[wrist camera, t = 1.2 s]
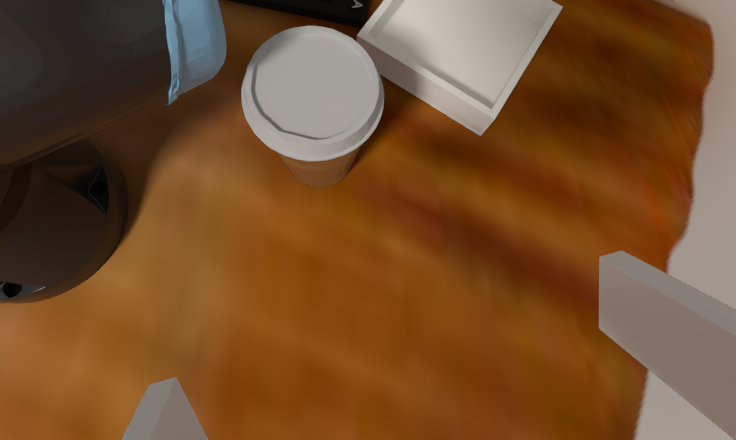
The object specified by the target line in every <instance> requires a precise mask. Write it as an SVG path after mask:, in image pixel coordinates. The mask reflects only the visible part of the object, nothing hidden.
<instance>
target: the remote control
mask: <svg viewBox="0 0 736 440" xmlns="http://www.w3.org/2000/svg"><path fill="white" fill-rule="evenodd" d="M228 1H233V2H238V3H243V4H248V5H253V6H258V7H262V8H267V9H272V10H277V11H282V12H287V13H292V14H297V15H302V16H307V17H312V18H317V19H322V20H326V21H331V22H336V23H341V24H346V25H351V26H356V27H361V28H363V27H364V25H365V20H366V15H367V10H368V5H369V0H228Z"/></svg>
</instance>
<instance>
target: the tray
mask: <svg viewBox="0 0 736 440" xmlns="http://www.w3.org/2000/svg"><path fill="white" fill-rule="evenodd" d="M562 8H563V7H562V6H560V5H559V4H557V3H555V2H554V1H552V0H384V1H383V2H382V3H381V5H380V6H379V7H378V8H377V10H376V11H375V12H374V14H373V15H372V16H371V18H370V19H369V20H368V21H367V23H366V24H365V25H364V27H363V28H362V29H361V31H360V32H359V33H358V34H357V41H356V42H357V43H358V44H360V45H361V46H362V47H363V48H364V50H365V51H366V52H367V53H368V54H369V56H370V58H371V59H372V61H373V63H374V65H375V67H376V69H377V71H378V72H379V74H380V75H382V76H384V77H385V78H387V79H388V80H390V81H392V82H393V83H395V84H397V85H398V86H400V87H401V88H403V89H405V90H406V91H408V92H410V93H411V94H413V95H414V96H416V97H418V98H419V99H421V100H423V101H424V102H426V103H427V104H429V105H431V106H432V107H434V108H436V109H437V110H439V111H440V112H442V113H444V114H445V115H447V116H449V117H450V118H452V119H453V120H455V121H457V122H458V123H460V124H462V125H463V126H465V127H466V128H468V129H470V130H471V131H473V132H475V133H476V134H478V135H479V136H481V135H482V134H483V133H484V132H485V130H486V129H487V128H488V127H489V126H490V124H491V123H492V122H493V121H494V120H495V118H496V117H497V115H498V113H499V112H500V110H501V108H502V107H503V105H504V103H505V102H506V100H507V98H508V97H509V95H510V94H511V92H512V90H513V89H514V87H515V85H516V84H517V82H518V80H519V79H520V77H521V75H522V74H523V72H524V71H525V69H526V67H527V66H528V64H529V62H530V61H531V59H532V57H533V56H534V54H535V52H536V51H537V49H538V47H539V46H540V44H541V43H542V41H543V39H544V38H545V36H546V34H547V33H548V31H549V29H550V28H551V26H552V24H553V23H554V21H555V19H556V18H557V16H558V15H559V13H560V11H561V10H562Z"/></svg>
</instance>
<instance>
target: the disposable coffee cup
mask: <svg viewBox="0 0 736 440" xmlns="http://www.w3.org/2000/svg"><path fill="white" fill-rule="evenodd" d="M241 97H242V107H243V111H244V114H245V118H246V120H247V121H248V123H249V125H250V127H251V128H252V130H253V132H254V133H255V134H256V135H257V136H258V137H259V138H260V139H261V140H262V141H263V142H264V143H265V144H266V145H267V146H268V147H269V148H271V149H273V150H275V152H276V153H277V154H278V156H279V157H280V158H281V159H282V161H283V162H284V163H285V165H286V166H287V167H288V169H289V170H290V171H291V173H292V174H293V175H294V176H295V177H296V178H297V179H298V180H299V181H301V182H303V183H305V184H307V185H310V186H313V187H327V186H330V185H333V184H335V183H337V182H339V181H340V180H341V179H343V178H344V177H345V176H346V175H347V173H348V172H349V170H350V168H351V166H352V164H353V162H354V160H355V158H356V156H357V154H358V152H359V150H360V148H361V146H362V144H363V143H364V142H365V141H366V140H367V139H368V138H369V137H370V136H371V134H372V133H373V131H374V130H375V128H376V127H377V125H378V123H379V120H380V118H381V115H382V111H383V107H384V90H383V84H382V80H381V77H380V75H379V72H378V71H377V69H376V67H375V65H374V63H373V61H372V59H371V58H370V56H369V54H368V53H367V52H366V51H365V50H364V48H363V47H362V46H361V45H360V44H358V43H357V42H356V41H355V40H353V39H352V38H351V37H349V36H347V35H345V34H343V33H341V32H338V31H336V30H334V29H330V28H326V27H321V26H302V27H294V28H291V29H287V30H284V31H282V32H280V33H278V34H276V35H274V36H273V37H271V38H269V39H268V40H266V41H265V42H264V43H263V44H262V45H261V46H260V47H259V48H258V50H257V51H256V52H255V53H254V55H253V57H252V59H251V61H250V63H249V64H248V66H247V71H246V74H245V76H244V79H243V84H242V89H241Z"/></svg>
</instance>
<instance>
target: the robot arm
mask: <svg viewBox="0 0 736 440" xmlns="http://www.w3.org/2000/svg"><path fill="white" fill-rule="evenodd" d="M226 50H227V45H226V34H225V29H224V23H223V19H222V14H221V10H220V6H219V2H218V0H0V303H29V302H36V301H41V300H45V299H48V298H51V297H54V296H57V295H59V294H62V293H64V292H66V291H68V290H70V289H72V288H74V287H75V286H77V285H79V284H80V283H82V282H83V281H85V280H86V279H87V278H88V277H90V276H91V275H92V274H93V273H94V272H96V271H97V270H98V269H99V268H100V267H101V265H102V264H103V263H104V262H105V261H106V260H107V258H108V257H109V256H110V254H111V253H112V251H113V250H114V248H115V247H116V245H117V243H118V241H119V239H120V237H121V234H122V232H123V229H124V226H125V222H126V217H127V209H128V197H127V190H126V185H125V182H124V179H123V176H122V174H121V172H120V170H119V168H118V166H117V165H116V163H115V162H114V161H113V159H112V158H111V157H110V156H109V155H108V154H107V153H106V152H105V151H104V150H103V149H101V148H100V147H99V146H97V145H96V144H95V143H93V142H92V141H90V140H89V139H87V137H89V136H92V135H94V134H96V133H99V132H101V131H103V130H105V129H108V128H110V127H112V126H115V125H117V124H119V123H121V122H124V121H126V120H128V119H131V118H133V117H135V116H137V115H140V114H142V113H144V112H147V111H149V110H151V109H154V108H156V107H158V106H160V105H169V104H172V102H173V101H176V100H177V98H178V96H179V95H181V94H183V93H185V92H187V91H189V90H191V89H193V88H195V87H197V86H199V85H201V84H203V83H205V82H207V81H209V80H211V79H212V78H214V77H215V75H216V74H217V73H218V72H219V71H220V68H221V67H222V66H223V64H224V62H225V58H226ZM599 329H600V330H601V331H603V332H604V333H605V334H606V335H607V336H609V337H610V338H611V339H612V340H614V341H615V342H616V343H617V344H618V345H620V346H621V347H622V348H623V349H624V350H626V351H627V352H628V353H629V354H631V355H632V356H633V357H634V358H635V359H637V360H638V361H639V362H640V363H642V364H643V365H644V366H645V367H646V368H648V369H649V370H650V371H651V372H653V373H654V374H655V375H656V376H657V377H659V378H660V379H661V380H662V381H663V382H665V383H666V384H667V385H668V386H670V387H671V388H672V389H673V390H675V391H676V392H677V393H678V394H679V395H681V396H682V397H683V398H684V399H685V400H687V401H688V402H689V403H690V404H692V405H693V406H694V407H695V408H696V409H698V410H699V411H700V412H701V413H703V414H704V415H705V416H706V417H707V418H709V419H710V420H711V421H712V422H713V423H715V424H716V425H717V426H718V427H720V428H721V429H722V430H723V431H724V432H726V433H727V434H728V435H729V436H731V437H732V438H733V439H734V440H736V309H733V308H732V307H730V306H728V305H726V304H724V303H722V302H720V301H718V300H716V299H714V298H712V297H711V296H708V295H706V294H705V293H703V292H701V291H699V290H697V289H695V288H693V287H691V286H689V285H687V284H685V283H684V282H682V281H680V280H678V279H676V278H674V277H672V276H670V275H668V274H666V273H664V272H662V271H660V270H659V269H657V268H655V267H653V266H651V265H649V264H647V263H645V262H643V261H641V260H639V259H637V258H635V257H633V256H632V255H630V254H628V253H626V252H624V251H618V252H615V253H611V254H608V255H604V256H601V257H599ZM121 440H208V438H207V437H206V435H205V433H204V431H203V429H202V427H201V425H200V423H199V421H198V419H197V417H196V415H195V413H194V411H193V409H192V407H191V405H190V403H189V401H188V399H187V397H186V395H185V393H184V391H183V389H182V387H181V385H180V383H179V381H178V379H177V377H174V378H171V379H167V380H164V381H160V382H157V383H153V384H150V385H149V386H148V388H147V390H146V392H145V394H144V396H143V398H142V400H141V402H140V404H139V406H138V408H137V410H136V412H135V414H134V415H133V417H132V419H131V421H130V423H129V425H128V427H127V429H126V431H125V433H124V435H123V437H122V439H121Z"/></svg>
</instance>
